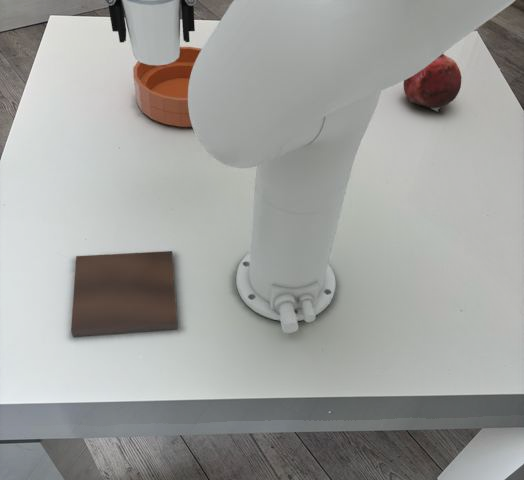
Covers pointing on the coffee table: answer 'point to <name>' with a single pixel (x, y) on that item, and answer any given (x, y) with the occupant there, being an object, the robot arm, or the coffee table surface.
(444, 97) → the fruit
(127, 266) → the pad
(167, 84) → the bowl
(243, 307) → the coffee table surface
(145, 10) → the white cup
